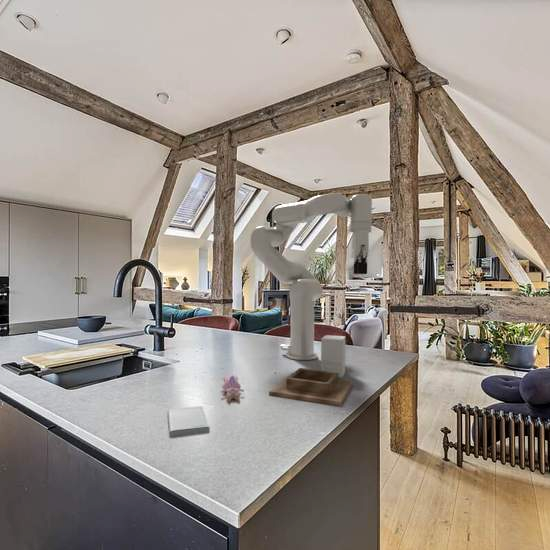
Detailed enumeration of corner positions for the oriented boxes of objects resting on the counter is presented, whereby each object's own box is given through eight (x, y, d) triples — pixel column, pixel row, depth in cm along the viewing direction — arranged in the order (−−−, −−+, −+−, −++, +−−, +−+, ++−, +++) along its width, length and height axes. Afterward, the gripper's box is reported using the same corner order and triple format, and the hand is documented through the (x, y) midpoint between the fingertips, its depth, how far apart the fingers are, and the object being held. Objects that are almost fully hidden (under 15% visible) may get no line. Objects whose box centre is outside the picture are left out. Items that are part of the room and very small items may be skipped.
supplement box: (345, 372, 123) (346, 336, 123) (342, 378, 116) (343, 339, 116) (324, 370, 126) (325, 334, 126) (320, 375, 119) (320, 338, 119)
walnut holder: (268, 394, 99) (269, 380, 99) (292, 375, 118) (292, 363, 118) (340, 405, 92) (340, 390, 92) (353, 383, 111) (353, 371, 111)
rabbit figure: (245, 407, 94) (239, 380, 108) (246, 386, 93) (240, 362, 107) (221, 408, 93) (219, 381, 107) (222, 387, 92) (219, 362, 106)
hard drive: (209, 426, 76) (202, 405, 88) (169, 430, 73) (167, 408, 85) (209, 434, 76) (202, 411, 88) (169, 438, 73) (167, 415, 85)
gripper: (347, 230, 142) (346, 273, 142) (354, 224, 125) (353, 273, 125) (366, 230, 141) (365, 274, 142) (376, 225, 124) (375, 274, 124)
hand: (360, 273), depth 133 cm, fingers open, 9 cm apart
